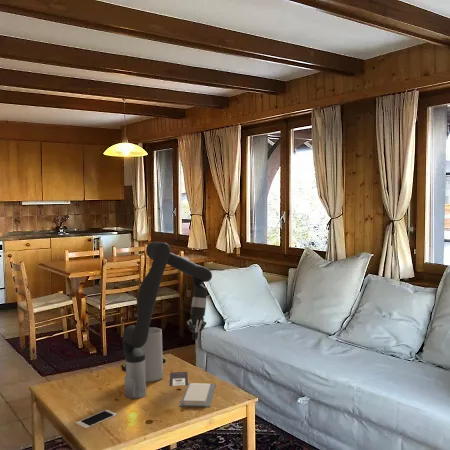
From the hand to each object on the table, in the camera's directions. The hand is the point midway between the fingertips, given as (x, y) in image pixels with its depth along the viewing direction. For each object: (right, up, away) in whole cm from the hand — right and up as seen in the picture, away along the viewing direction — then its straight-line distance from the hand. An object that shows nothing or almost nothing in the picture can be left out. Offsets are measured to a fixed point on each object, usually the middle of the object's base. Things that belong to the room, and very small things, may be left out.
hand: (194, 339), depth 259 cm
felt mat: (+3, -21, -22) cm, 31 cm away
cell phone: (-39, -25, -44) cm, 64 cm away
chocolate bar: (-8, -21, -2) cm, 22 cm away
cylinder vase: (-23, -21, +2) cm, 31 cm away
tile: (+4, -19, -15) cm, 25 cm away
